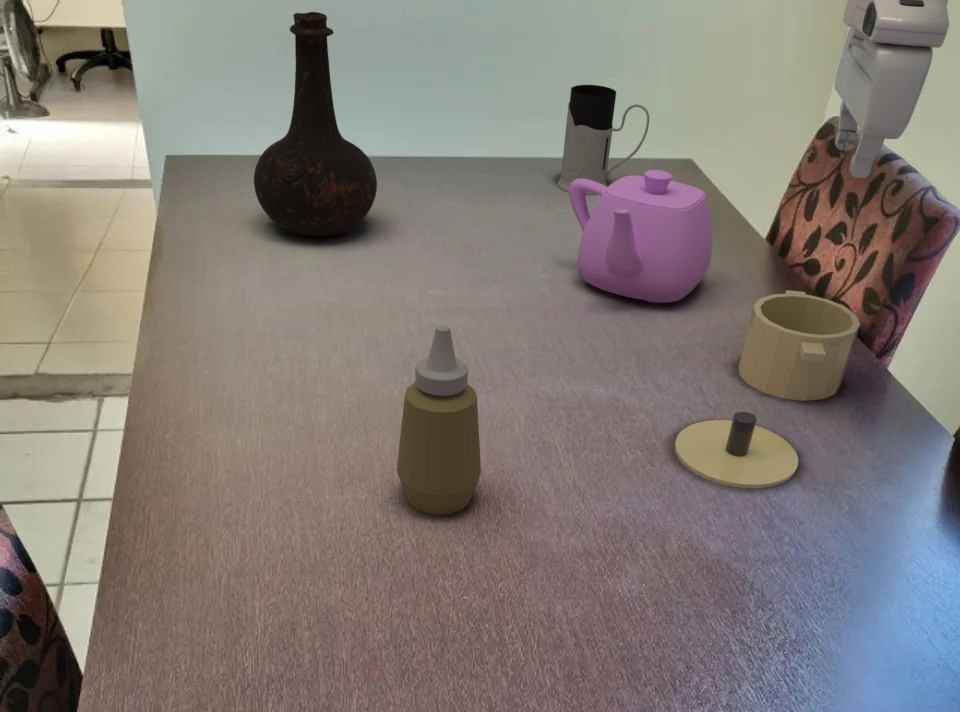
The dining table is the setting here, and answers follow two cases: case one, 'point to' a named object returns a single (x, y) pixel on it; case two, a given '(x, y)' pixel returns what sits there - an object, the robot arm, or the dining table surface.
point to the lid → (736, 452)
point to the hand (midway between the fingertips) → (850, 161)
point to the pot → (798, 346)
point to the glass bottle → (314, 151)
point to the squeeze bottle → (439, 433)
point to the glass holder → (590, 135)
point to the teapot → (643, 236)
